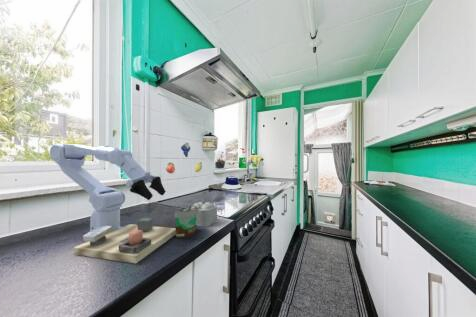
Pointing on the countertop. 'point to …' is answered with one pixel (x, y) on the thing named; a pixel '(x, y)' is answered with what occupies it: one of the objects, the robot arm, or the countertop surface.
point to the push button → (135, 237)
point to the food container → (186, 221)
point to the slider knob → (145, 224)
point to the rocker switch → (97, 233)
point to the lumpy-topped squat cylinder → (206, 214)
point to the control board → (125, 244)
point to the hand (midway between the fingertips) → (157, 195)
